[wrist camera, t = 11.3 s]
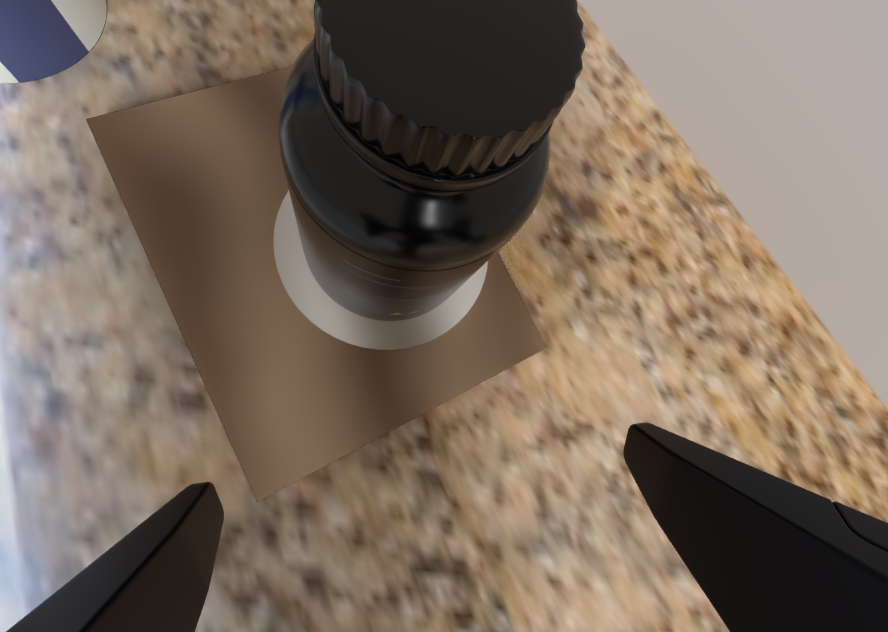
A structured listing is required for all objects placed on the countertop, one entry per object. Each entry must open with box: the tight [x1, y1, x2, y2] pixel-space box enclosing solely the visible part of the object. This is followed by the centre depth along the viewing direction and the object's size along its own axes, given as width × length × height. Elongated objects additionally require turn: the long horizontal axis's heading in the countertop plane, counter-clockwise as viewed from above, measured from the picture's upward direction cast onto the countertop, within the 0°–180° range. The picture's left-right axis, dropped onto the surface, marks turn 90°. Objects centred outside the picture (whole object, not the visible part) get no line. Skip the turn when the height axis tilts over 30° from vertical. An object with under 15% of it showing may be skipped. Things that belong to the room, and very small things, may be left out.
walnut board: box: [86, 67, 547, 502], centre depth 19 cm, size 13×16×2 cm
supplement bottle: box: [278, 0, 585, 321], centre depth 13 cm, size 7×7×12 cm
